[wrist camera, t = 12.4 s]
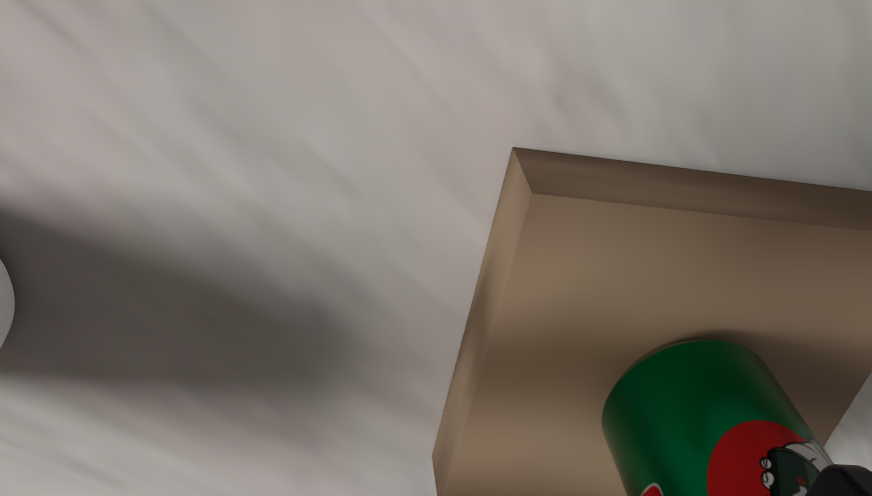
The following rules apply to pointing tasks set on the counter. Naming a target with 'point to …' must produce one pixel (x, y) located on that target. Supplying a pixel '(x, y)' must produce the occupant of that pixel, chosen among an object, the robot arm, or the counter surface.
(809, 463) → the soda can
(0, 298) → the can
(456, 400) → the walnut base
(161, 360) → the counter surface
